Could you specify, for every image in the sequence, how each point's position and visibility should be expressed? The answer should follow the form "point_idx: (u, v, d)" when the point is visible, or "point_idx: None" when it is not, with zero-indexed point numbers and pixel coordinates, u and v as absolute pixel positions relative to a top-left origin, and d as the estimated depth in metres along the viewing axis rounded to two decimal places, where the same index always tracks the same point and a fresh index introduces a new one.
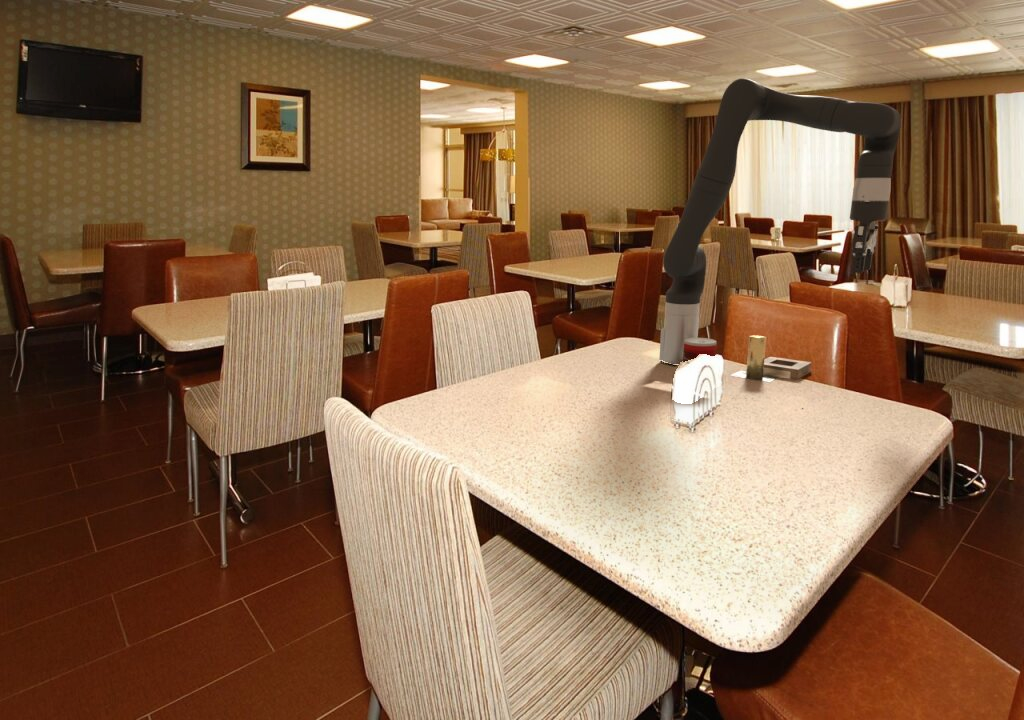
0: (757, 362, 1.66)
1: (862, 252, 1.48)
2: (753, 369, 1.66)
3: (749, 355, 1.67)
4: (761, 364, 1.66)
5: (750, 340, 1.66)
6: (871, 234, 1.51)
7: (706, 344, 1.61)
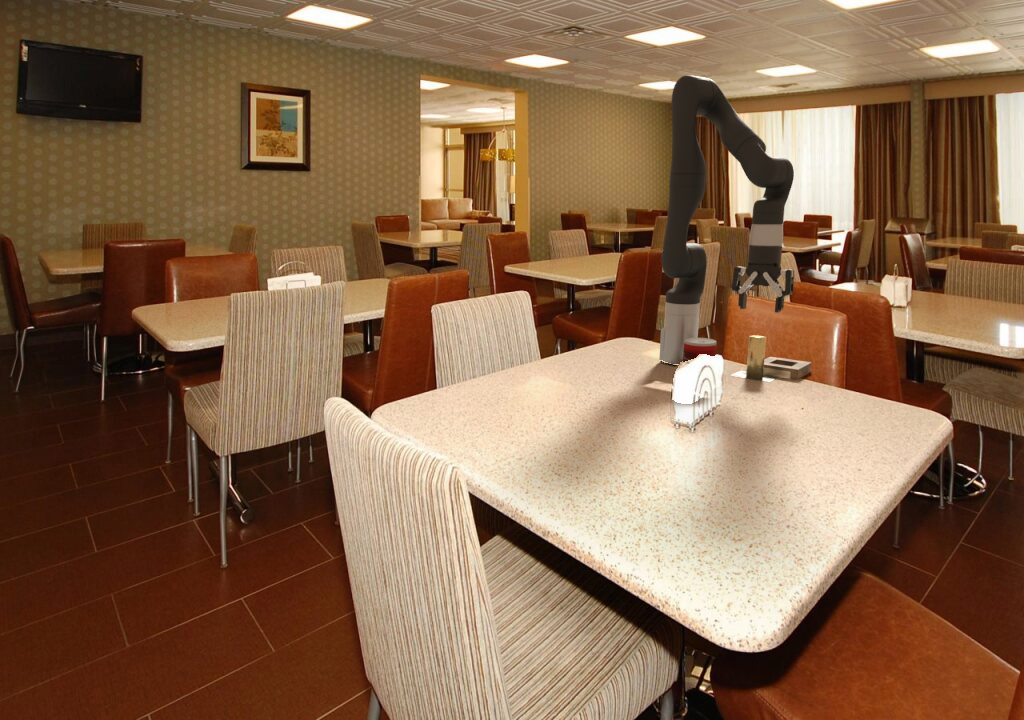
0: (757, 362, 1.66)
1: (792, 293, 1.60)
2: (753, 369, 1.66)
3: (749, 355, 1.67)
4: (761, 364, 1.66)
5: (750, 340, 1.66)
6: None
7: (706, 344, 1.61)
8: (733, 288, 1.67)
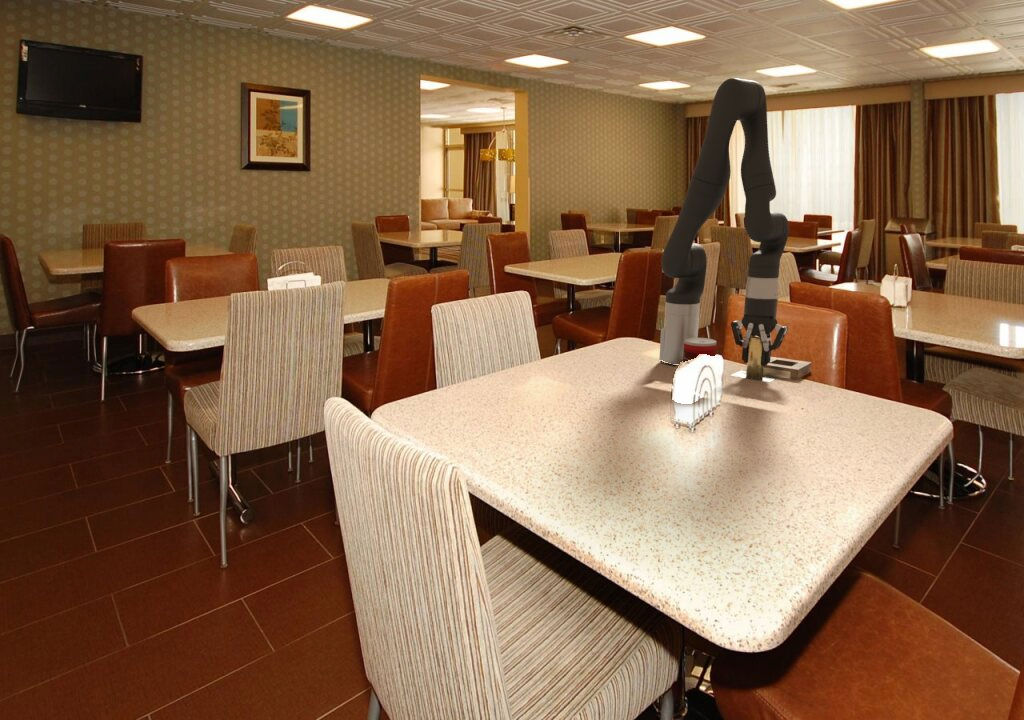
0: (757, 362, 1.66)
1: (778, 347, 1.64)
2: (753, 369, 1.66)
3: (749, 355, 1.67)
4: (761, 364, 1.66)
5: (750, 340, 1.66)
6: None
7: (706, 344, 1.61)
8: (737, 342, 1.69)
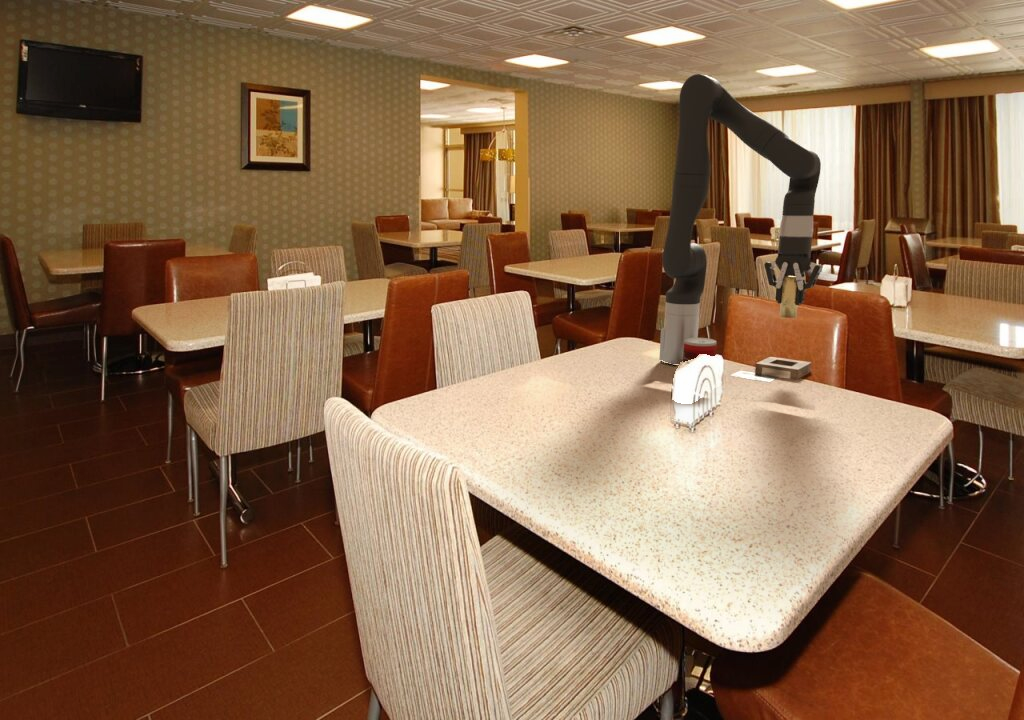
0: (791, 301, 1.67)
1: (812, 286, 1.65)
2: (787, 308, 1.67)
3: (783, 295, 1.68)
4: (795, 304, 1.67)
5: (784, 280, 1.67)
6: None
7: (706, 344, 1.61)
8: (770, 283, 1.70)
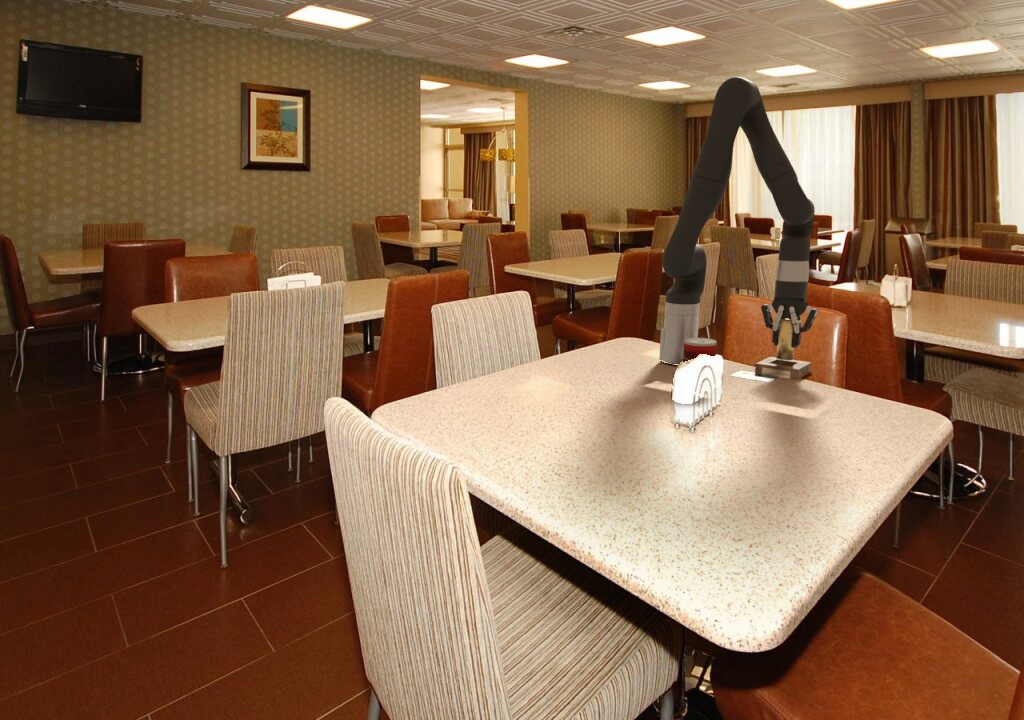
0: (788, 344, 1.69)
1: (808, 329, 1.68)
2: (783, 351, 1.70)
3: (779, 337, 1.70)
4: (791, 346, 1.69)
5: (780, 323, 1.69)
6: None
7: (706, 344, 1.61)
8: (767, 325, 1.72)
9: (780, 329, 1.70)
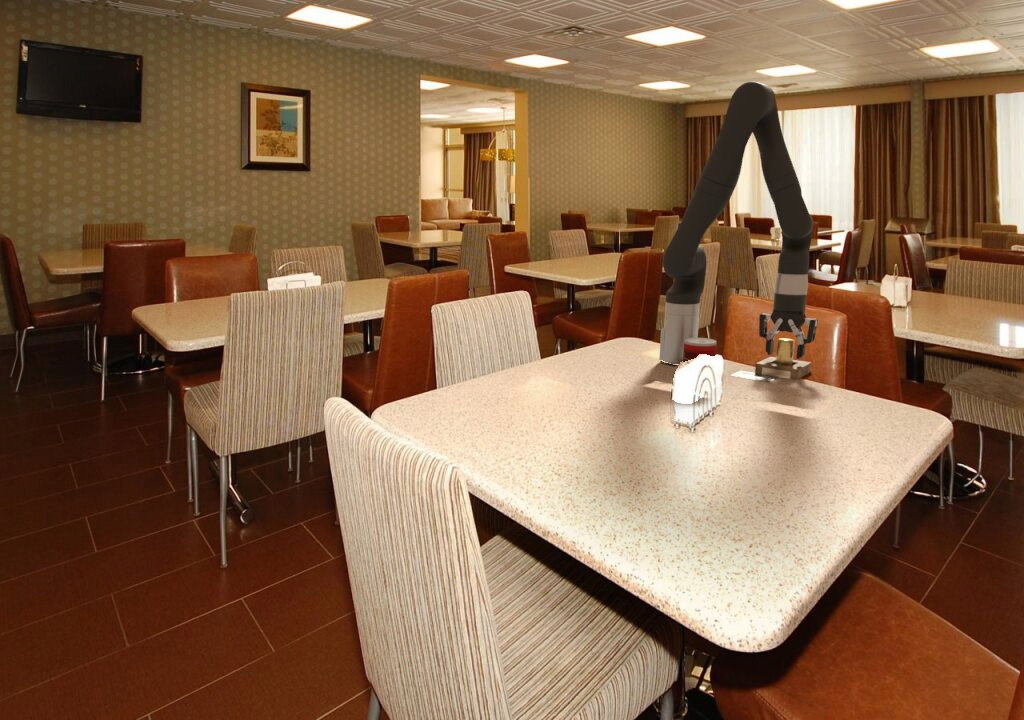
0: (786, 364, 1.70)
1: None
2: None
3: (778, 357, 1.71)
4: None
5: (779, 343, 1.71)
6: None
7: (706, 344, 1.61)
8: (761, 335, 1.74)
9: (778, 349, 1.71)
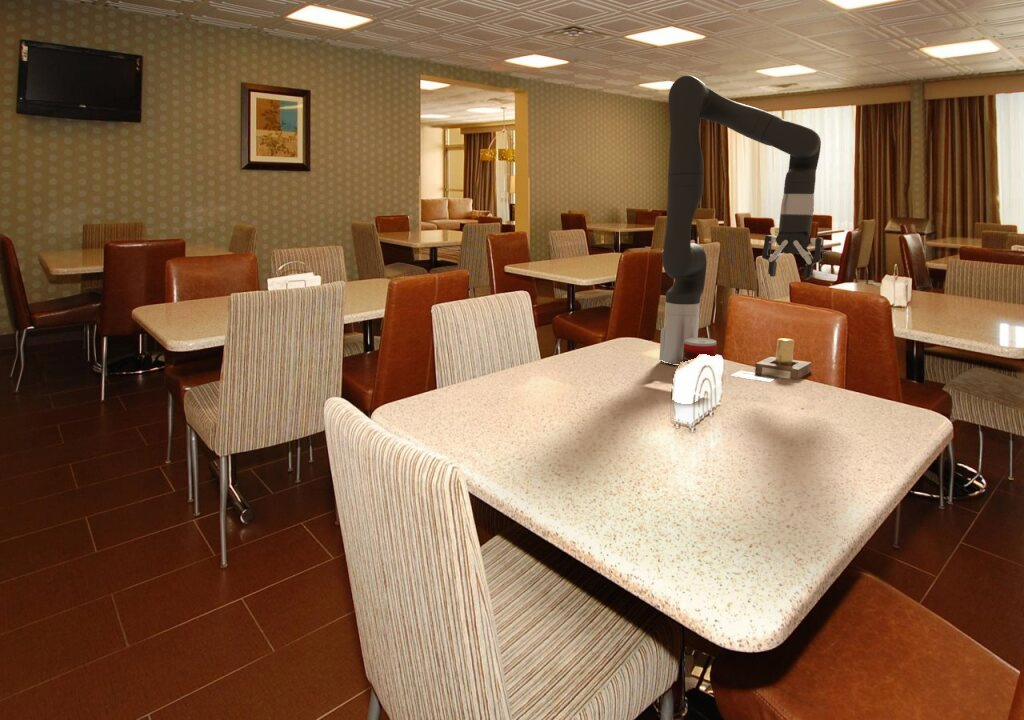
0: (785, 364, 1.70)
1: None
2: None
3: (777, 357, 1.71)
4: None
5: (778, 343, 1.71)
6: None
7: (706, 344, 1.61)
8: (763, 256, 1.74)
9: (778, 349, 1.71)
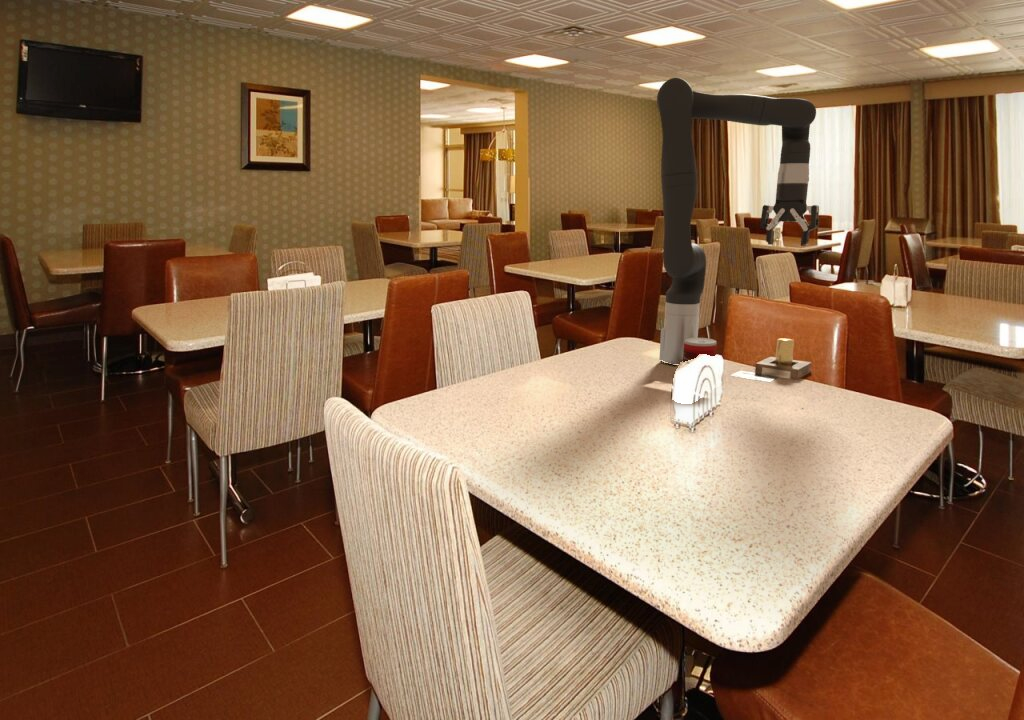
0: (785, 364, 1.70)
1: (816, 227, 1.74)
2: None
3: (777, 357, 1.71)
4: None
5: (778, 343, 1.71)
6: None
7: (706, 344, 1.61)
8: (761, 225, 1.81)
9: (778, 349, 1.71)
